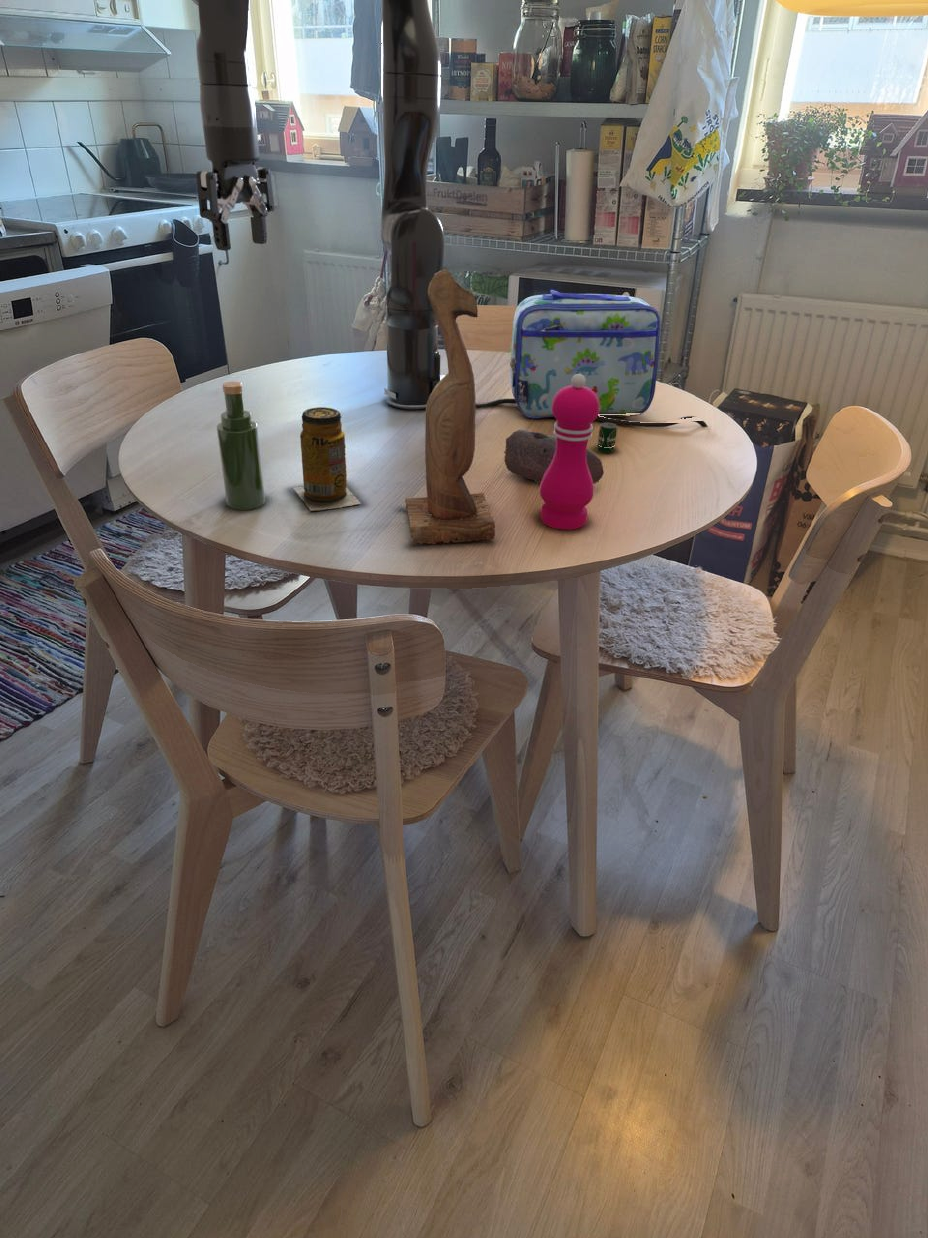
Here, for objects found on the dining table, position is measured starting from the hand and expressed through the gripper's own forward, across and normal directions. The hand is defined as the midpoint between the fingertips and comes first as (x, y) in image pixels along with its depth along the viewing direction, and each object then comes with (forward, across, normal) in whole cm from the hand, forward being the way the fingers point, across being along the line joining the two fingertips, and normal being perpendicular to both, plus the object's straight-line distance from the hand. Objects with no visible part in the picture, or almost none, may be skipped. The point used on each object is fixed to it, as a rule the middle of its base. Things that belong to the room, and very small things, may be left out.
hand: (242, 246), depth 126 cm
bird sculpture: (+28, -19, -46) cm, 57 cm away
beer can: (+28, +19, -56) cm, 65 cm away
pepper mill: (+28, -9, -59) cm, 66 cm away
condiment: (+28, -19, -27) cm, 43 cm away
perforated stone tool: (+28, +2, -53) cm, 60 cm away
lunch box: (+28, +35, -45) cm, 64 cm away
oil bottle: (+28, -26, -18) cm, 43 cm away
